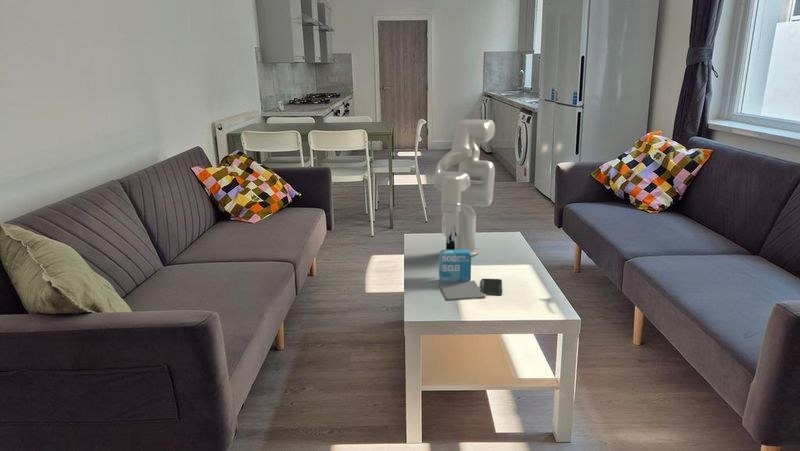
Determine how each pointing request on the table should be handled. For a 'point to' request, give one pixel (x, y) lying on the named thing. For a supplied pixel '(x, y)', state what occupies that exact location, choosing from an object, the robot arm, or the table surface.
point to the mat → (461, 290)
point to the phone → (491, 286)
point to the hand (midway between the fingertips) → (450, 251)
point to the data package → (454, 265)
